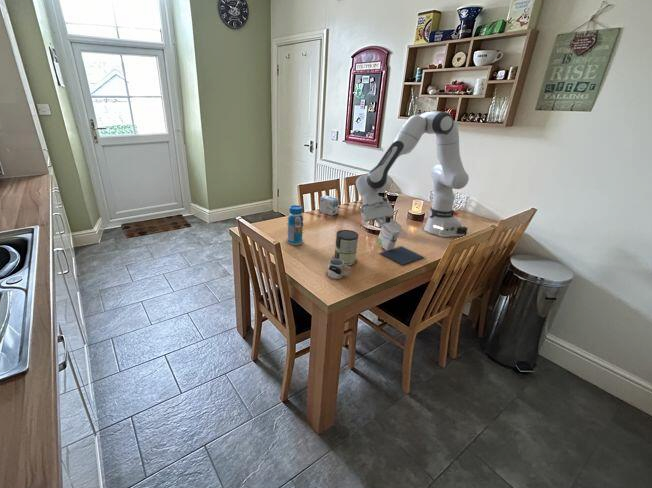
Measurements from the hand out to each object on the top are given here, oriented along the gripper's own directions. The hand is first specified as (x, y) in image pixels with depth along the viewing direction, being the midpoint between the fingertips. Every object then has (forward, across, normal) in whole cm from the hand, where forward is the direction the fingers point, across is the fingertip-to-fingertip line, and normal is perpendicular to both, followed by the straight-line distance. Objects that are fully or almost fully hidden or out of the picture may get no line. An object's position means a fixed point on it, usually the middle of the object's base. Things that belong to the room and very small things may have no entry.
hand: (383, 226), depth 172 cm
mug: (+18, -40, -2) cm, 44 cm away
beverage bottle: (-10, -38, +27) cm, 48 cm away
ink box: (+9, 0, +6) cm, 11 cm away
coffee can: (+11, -28, +6) cm, 31 cm away
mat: (+18, 0, -2) cm, 18 cm away
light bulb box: (-30, +7, +47) cm, 56 cm away
